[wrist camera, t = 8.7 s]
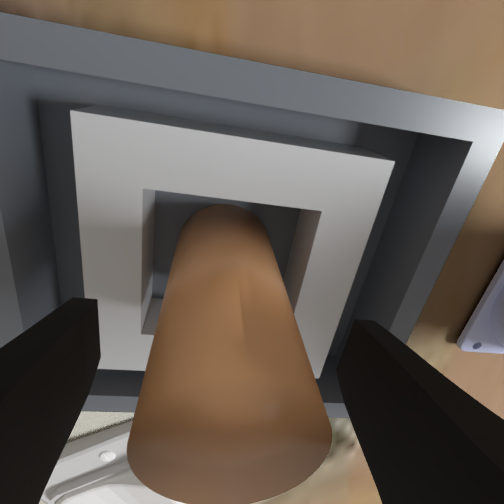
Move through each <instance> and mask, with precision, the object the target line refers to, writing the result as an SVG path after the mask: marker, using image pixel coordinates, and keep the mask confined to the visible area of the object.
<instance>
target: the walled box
mask: <svg viewBox="0 0 504 504" xmlns="http://www.w3.org/2000/svg"><path fill="white" fill-rule="evenodd" d="M503 142H504V110H501V109H496V108H491V107H486V106H480V105H475V104H470V103H465V102H460V101H455V100H450V99H445V98H439V97H434V96H429V95H424V94H419V93H414V92H409V91H403V90H398V89H393V88H388V87H383V86H378V85H373V84H367V83H362V82H357V81H352V80H347V79H342V78H337V77H332V76H326V75H321V74H316V73H311V72H306V71H301V70H296V69H290V68H285V67H280V66H275V65H270V64H265V63H260V62H254V61H249V60H244V59H239V58H234V57H229V56H224V55H218V54H213V53H208V52H203V51H198V50H193V49H188V48H183V47H177V46H172V45H167V44H162V43H157V42H152V41H147V40H141V39H136V38H131V37H126V36H121V35H116V34H111V33H105V32H100V31H95V30H90V29H85V28H80V27H75V26H69V25H64V24H59V23H54V22H49V21H44V20H39V19H34V18H28V17H23V16H18V15H13V14H8V13H3V12H0V348H1V347H3V346H4V345H5V344H7V343H8V342H10V341H11V340H13V339H14V338H16V337H17V336H18V335H20V334H21V333H23V332H24V331H26V330H27V329H29V328H30V327H31V326H33V325H34V324H36V323H37V322H38V321H40V320H41V319H43V318H44V317H45V316H47V315H48V314H50V313H51V312H52V311H54V310H55V309H57V308H58V307H59V306H61V305H62V304H64V303H65V302H66V301H68V300H69V299H71V298H72V297H77V298H89V299H98V316H99V334H100V351H101V359H100V362H99V365H98V368H97V371H96V374H95V378H94V380H93V383H92V386H91V389H90V392H89V395H88V397H87V399H86V402H85V404H84V406H83V408H82V410H81V411H97V412H135V410H136V406H137V402H138V398H139V394H140V390H141V386H142V382H143V378H144V374H145V370H146V366H147V362H148V358H149V354H150V350H151V346H152V342H153V338H154V334H155V330H156V326H157V322H158V318H159V314H160V310H161V306H162V302H163V298H164V294H165V290H166V286H167V282H168V277H169V273H170V269H171V265H172V261H173V257H174V253H175V249H176V245H177V241H178V237H179V234H180V231H181V229H182V227H183V225H184V224H185V222H186V221H187V220H188V219H189V218H190V217H191V216H192V215H193V214H194V213H196V212H197V211H199V210H201V209H203V208H205V207H208V206H211V205H217V204H231V205H236V206H239V207H242V208H244V209H247V210H248V211H250V212H251V213H253V214H254V215H255V216H257V217H258V219H259V220H260V221H261V222H262V224H263V225H264V227H265V229H266V231H267V234H268V237H269V240H270V243H271V246H272V249H273V252H274V255H275V258H276V261H277V264H278V267H279V270H280V273H281V276H282V279H283V282H284V285H285V288H286V291H287V294H288V298H289V301H290V304H291V307H292V310H293V313H294V316H295V319H296V322H297V325H298V328H299V331H300V334H301V337H302V340H303V343H304V346H305V349H306V352H307V355H308V358H309V361H310V364H311V367H312V370H313V373H314V376H315V379H316V382H317V385H318V388H319V391H320V394H321V397H322V401H323V404H324V407H325V410H326V413H327V416H328V417H340V418H350V417H349V415H348V412H347V409H346V407H345V404H344V400H343V397H342V393H341V389H340V385H339V381H338V376H337V372H336V368H337V365H338V363H339V360H340V357H341V355H342V352H343V350H344V347H345V344H346V342H347V339H348V336H349V334H350V331H351V328H352V326H353V323H354V320H355V319H361V320H374V321H376V322H377V323H379V324H380V325H381V326H383V327H384V328H385V329H387V330H388V331H389V332H390V333H392V334H393V335H394V336H395V337H397V338H398V339H399V340H400V341H402V342H403V343H404V344H406V342H407V340H408V338H409V336H410V334H411V332H412V330H413V328H414V326H415V324H416V322H417V320H418V317H419V315H420V313H421V311H422V309H423V307H424V305H425V303H426V301H427V299H428V297H429V295H430V293H431V291H432V288H433V286H434V284H435V282H436V280H437V278H438V276H439V274H440V272H441V270H442V268H443V266H444V264H445V262H446V260H447V257H448V255H449V253H450V251H451V249H452V247H453V245H454V243H455V241H456V239H457V237H458V235H459V233H460V231H461V228H462V226H463V224H464V222H465V220H466V218H467V216H468V214H469V212H470V210H471V208H472V206H473V204H474V202H475V200H476V197H477V195H478V193H479V191H480V189H481V187H482V185H483V183H484V181H485V179H486V177H487V175H488V173H489V171H490V168H491V166H492V164H493V162H494V160H495V158H496V156H497V154H498V152H499V150H500V148H501V146H502V144H503Z"/></svg>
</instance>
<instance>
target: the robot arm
mask: <svg viewBox="0 0 504 504" xmlns="http://www.w3.org/2000/svg"><path fill="white" fill-rule="evenodd" d="M457 346H458V347H459V348H460V349H461V350H462V351H469V352H485V353H501V354H504V260H503V261H502V263H501V265H500V267H499V268H498V270H497V272H496V274H495V275H494V277H493V279H492V281H491V282H490V284H489V286H488V288H487V289H486V291H485V293H484V295H483V296H482V298H481V300H480V302H479V303H478V305H477V307H476V309H475V310H474V312H473V314H472V316H471V317H470V319H469V321H468V323H467V324H466V326H465V328H464V330H463V331H462V333H461V335H460V337H459V338H458V340H457ZM100 359H101V351H100V334H99V316H98V299H89V298H77V297H72V298H71V299H69V300H68V301H66V302H65V303H64V304H62V305H61V306H59V307H58V308H57V309H55V310H54V311H52V312H51V313H50V314H48V315H47V316H45V317H44V318H43V319H41V320H40V321H38V322H37V323H36V324H34V325H33V326H31V327H30V328H29V329H27V330H26V331H24V332H23V333H21V334H20V335H18V336H17V337H16V338H14V339H13V340H11V341H10V342H8V343H7V344H5V345H4V346H3V347H1V348H0V504H39V501H40V499H41V497H42V494H43V492H44V490H45V487H46V485H47V483H48V481H49V479H50V477H51V474H52V472H53V470H54V468H55V466H56V464H57V462H58V460H59V457H60V455H61V453H62V451H63V449H64V447H65V445H66V442H67V440H68V438H69V436H70V434H71V432H72V430H73V428H74V425H75V423H76V421H77V419H78V417H79V415H80V412H81V410H82V408H83V406H84V404H85V402H86V399H87V397H88V395H89V392H90V389H91V386H92V383H93V380H94V378H95V374H96V371H97V368H98V365H99V362H100ZM336 372H337V376H338V381H339V385H340V389H341V393H342V397H343V400H344V404H345V407H346V409H347V412H348V415H349V417H350V420H351V423H352V425H353V428H354V430H355V433H356V435H357V438H358V441H359V443H360V446H361V448H362V451H363V453H364V456H365V458H366V461H367V463H368V466H369V469H370V471H371V474H372V476H373V479H374V481H375V484H376V487H377V489H378V492H379V495H380V498H381V501H382V504H504V420H503V419H502V418H500V417H499V416H498V415H496V414H495V413H493V412H492V411H490V410H489V409H488V408H486V407H485V406H483V405H482V404H481V403H479V402H478V401H477V400H475V399H474V398H473V397H471V396H470V395H469V394H467V393H466V392H465V391H463V390H462V389H461V388H459V387H458V386H457V385H455V384H454V383H453V382H451V381H450V380H449V379H448V378H446V377H445V376H444V375H443V374H441V373H440V372H439V371H437V370H436V369H435V368H434V367H432V366H431V365H430V364H429V363H427V362H426V361H425V360H424V359H423V358H421V357H420V356H419V355H418V354H416V353H415V352H414V351H413V350H412V349H410V348H409V347H408V346H407V345H405V344H404V343H403V342H402V341H400V340H399V339H398V338H397V337H395V336H394V335H393V334H392V333H390V332H389V331H388V330H387V329H385V328H384V327H383V326H381V325H380V324H379V323H377V322H376V321H374V320H361V319H355V320H354V323H353V326H352V328H351V331H350V334H349V336H348V339H347V342H346V344H345V347H344V350H343V352H342V355H341V357H340V360H339V363H338V365H337V368H336Z"/></svg>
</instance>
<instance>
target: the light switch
mask: <svg viewBox="0 0 504 504" xmlns="http://www.w3.org/2000/svg"><path fill="white" fill-rule="evenodd" d="M132 422H133V420H132V421H129V422H126V423H123V424H120V425H117V426H115V427H112V428H109V429H106V430H103V431H100V432H97V433H94V434H91V435H89V436H86V437H83V438H80V439H77V440H74V441H71V442H68V443H66V445H65V447H64V449H63V451H62V453H61V455H60V457H59V460H58V462H57V464H56V466H55V468H54V470H53V472H52V474H51V477H50V479H49V481H48V483H47V485H46V487H45V490H44V492H43V494H42V497H41V499H40V500H42V501H43V502H44V503H46V504H186V503H182V502H178V501H174V500H171V499H169V498H166V497H164V496H161V495H159V494H157V493H155V492H154V491H152V490H151V489H149V488H148V487H146V486H145V485H144V484H143V483H141V482H140V480H139V479H138V478H137V477H136V476H135V475H134V473H133V471H132V470H131V468H130V465H129V463H128V460H127V452H126V451H127V442H128V438H129V434H130V430H131V426H132Z"/></svg>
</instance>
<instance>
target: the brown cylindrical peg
mask: <svg viewBox="0 0 504 504" xmlns="http://www.w3.org/2000/svg"><path fill="white" fill-rule="evenodd" d="M331 442H332V428H331V425H330V422H329V419H328V416H327V413H326V410H325V407H324V404H323V401H322V397H321V394H320V391H319V388H318V385H317V382H316V379H315V376H314V373H313V370H312V367H311V364H310V361H309V358H308V355H307V352H306V349H305V346H304V343H303V340H302V337H301V334H300V331H299V328H298V325H297V322H296V319H295V316H294V313H293V310H292V307H291V304H290V301H289V298H288V294H287V291H286V288H285V285H284V282H283V279H282V276H281V273H280V270H279V267H278V264H277V261H276V258H275V255H274V252H273V249H272V246H271V243H270V240H269V237H268V234H267V231H266V229H265V227H264V225H263V224H262V222H261V221H260V220H259V219H258V217H257V216H255V215H254V214H253V213H251V212H250V211H248V210H247V209H244V208H242V207H239V206H236V205H231V204H217V205H211V206H208V207H205V208H203V209H201V210H199V211H197V212H196V213H194V214H193V215H192V216H191V217H190V218H189V219H188V220H187V221H186V222H185V224H184V225H183V227H182V229H181V231H180V234H179V237H178V241H177V245H176V249H175V253H174V257H173V261H172V265H171V269H170V273H169V277H168V282H167V286H166V290H165V294H164V298H163V302H162V306H161V310H160V314H159V318H158V322H157V326H156V330H155V334H154V338H153V342H152V346H151V350H150V354H149V358H148V362H147V366H146V370H145V374H144V378H143V382H142V386H141V390H140V394H139V398H138V402H137V406H136V410H135V414H134V418H133V422H132V426H131V430H130V434H129V438H128V442H127V451H126V452H127V460H128V463H129V465H130V468H131V470H132V471H133V473H134V475H135V476H136V477H137V478H138V479H139V480H140V482H141V483H143V484H144V485H145V486H146V487H148V488H149V489H151V490H152V491H154V492H155V493H157V494H159V495H161V496H164V497H166V498H169V499H171V500H174V501H178V502H182V503H186V504H249V503H254V502H258V501H262V500H265V499H269V498H271V497H274V496H277V495H279V494H282V493H284V492H286V491H288V490H290V489H292V488H294V487H295V486H297V485H299V484H300V483H302V482H303V481H305V480H306V479H307V478H308V477H310V476H311V475H312V474H313V473H314V472H315V471H316V470H317V469H318V468H319V467H320V465H321V464H322V463H323V461H324V460H325V458H326V456H327V454H328V453H329V450H330V447H331Z"/></svg>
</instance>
